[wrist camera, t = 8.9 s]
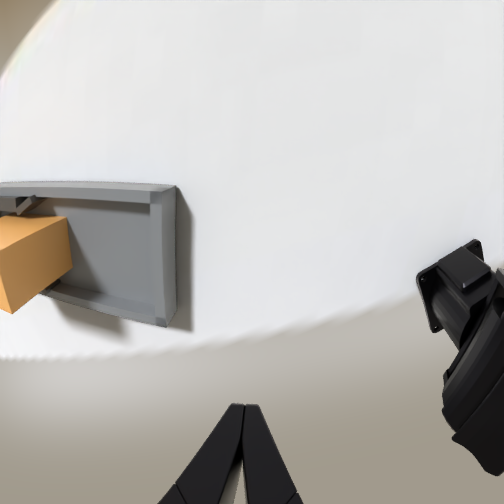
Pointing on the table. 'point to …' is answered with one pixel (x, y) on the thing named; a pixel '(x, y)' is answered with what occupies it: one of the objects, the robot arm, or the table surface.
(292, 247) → the table surface
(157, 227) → the tray
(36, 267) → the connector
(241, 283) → the table surface
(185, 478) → the robot arm
